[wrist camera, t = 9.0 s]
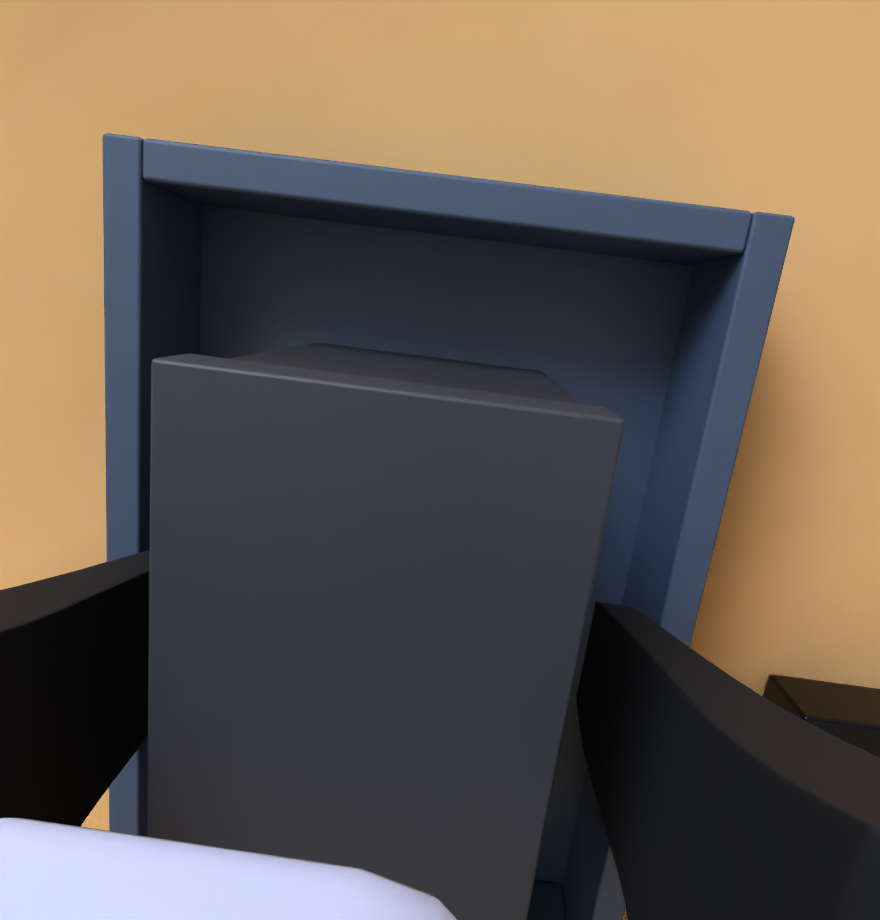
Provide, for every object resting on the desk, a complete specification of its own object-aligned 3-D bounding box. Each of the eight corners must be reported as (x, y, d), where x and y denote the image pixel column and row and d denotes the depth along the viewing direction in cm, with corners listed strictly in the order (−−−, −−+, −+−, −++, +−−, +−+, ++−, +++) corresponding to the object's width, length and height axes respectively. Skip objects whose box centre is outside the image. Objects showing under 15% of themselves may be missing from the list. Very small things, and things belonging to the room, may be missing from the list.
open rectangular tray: (726, 237, 11) (797, 215, 9) (580, 895, 15) (601, 1009, 12) (180, 170, 11) (101, 131, 9) (168, 834, 15) (109, 935, 13)
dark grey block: (549, 366, 12) (627, 419, 6) (478, 795, 14) (483, 1144, 8) (311, 336, 12) (147, 357, 6) (280, 766, 14) (143, 1090, 8)
